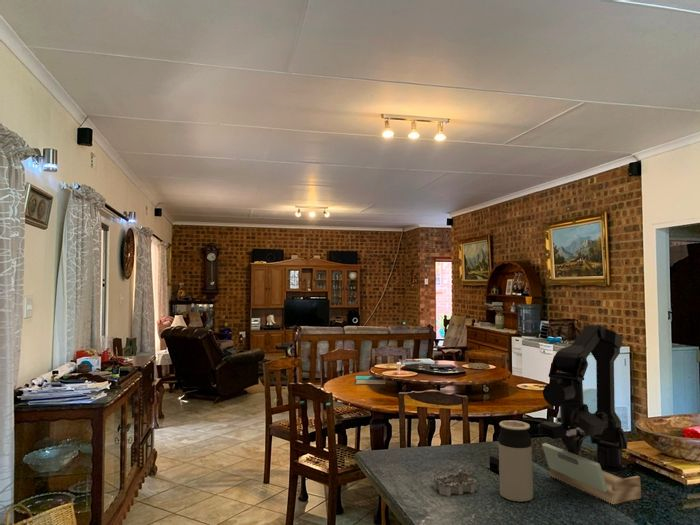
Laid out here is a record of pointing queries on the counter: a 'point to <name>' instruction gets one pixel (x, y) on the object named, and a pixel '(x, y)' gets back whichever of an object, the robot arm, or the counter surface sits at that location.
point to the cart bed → (616, 486)
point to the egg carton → (455, 483)
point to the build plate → (494, 464)
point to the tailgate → (575, 466)
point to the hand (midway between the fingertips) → (574, 459)
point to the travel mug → (515, 461)
